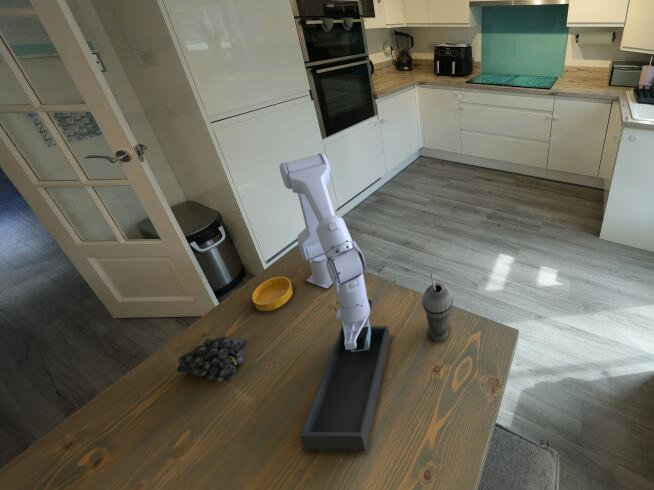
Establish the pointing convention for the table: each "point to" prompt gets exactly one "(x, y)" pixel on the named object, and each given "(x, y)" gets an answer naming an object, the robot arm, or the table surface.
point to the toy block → (368, 338)
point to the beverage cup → (437, 309)
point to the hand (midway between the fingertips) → (361, 338)
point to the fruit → (214, 359)
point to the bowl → (272, 293)
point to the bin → (347, 396)
